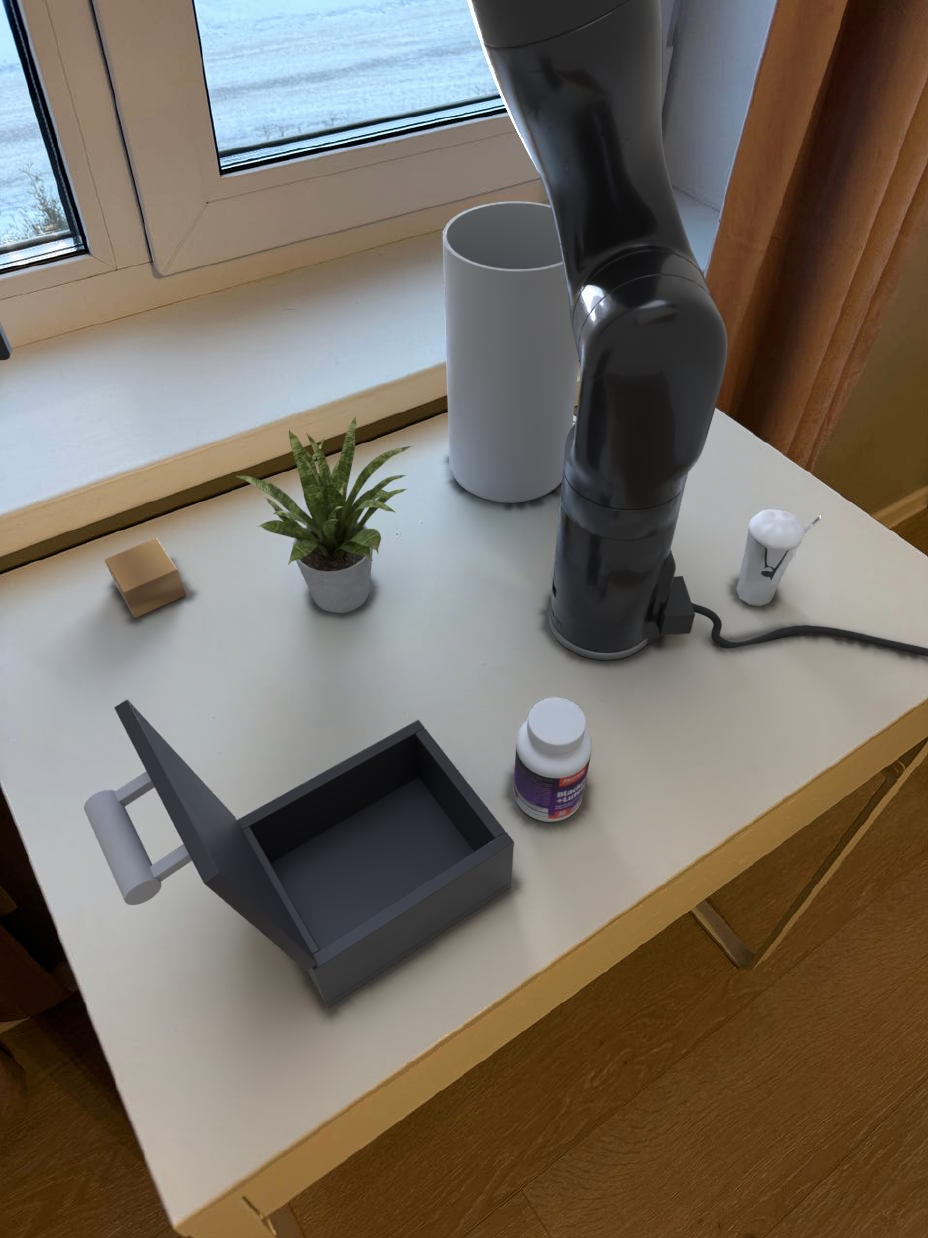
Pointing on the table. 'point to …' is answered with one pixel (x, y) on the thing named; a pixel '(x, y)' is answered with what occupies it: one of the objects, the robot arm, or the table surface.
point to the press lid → (188, 840)
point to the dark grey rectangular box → (380, 856)
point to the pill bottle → (552, 760)
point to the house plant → (331, 523)
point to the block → (145, 577)
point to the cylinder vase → (507, 351)
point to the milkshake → (768, 554)
